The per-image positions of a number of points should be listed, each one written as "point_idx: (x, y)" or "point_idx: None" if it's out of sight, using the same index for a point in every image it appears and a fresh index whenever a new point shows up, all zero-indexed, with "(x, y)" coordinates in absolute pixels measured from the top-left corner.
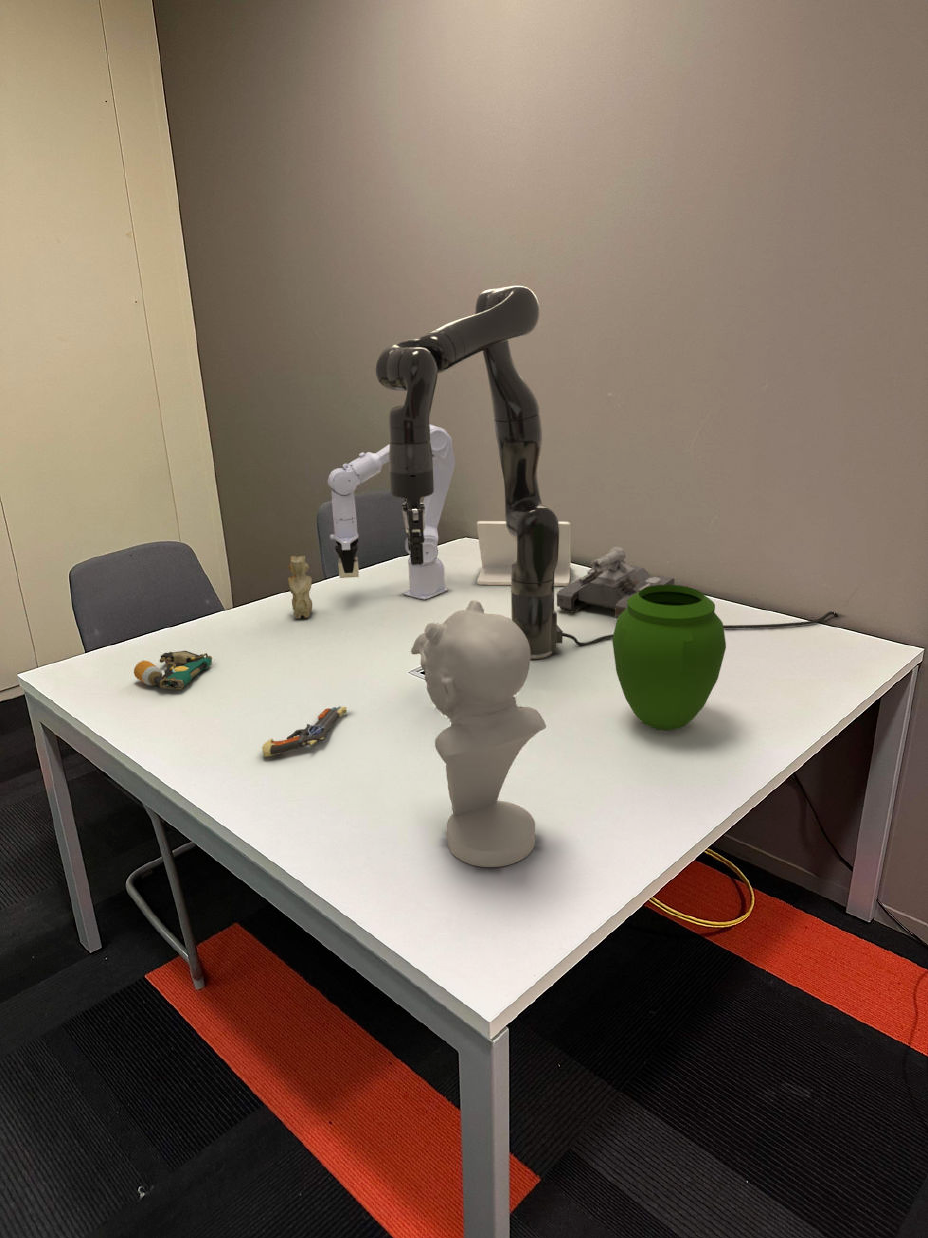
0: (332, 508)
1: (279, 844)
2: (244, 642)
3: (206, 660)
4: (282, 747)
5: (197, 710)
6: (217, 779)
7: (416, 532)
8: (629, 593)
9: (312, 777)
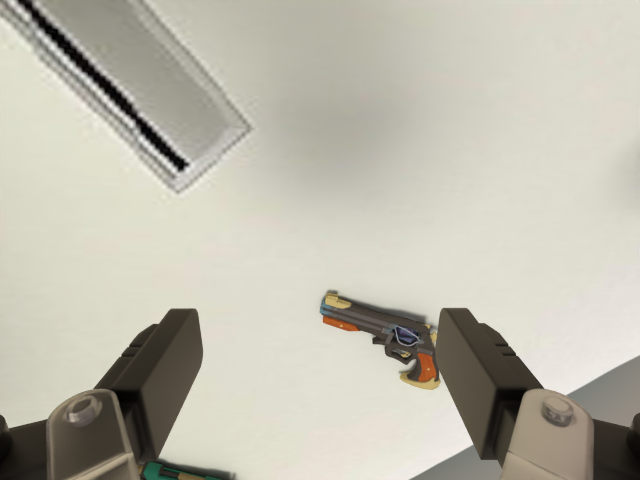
0: None
1: (618, 349)
2: None
3: (153, 473)
4: (438, 368)
5: (283, 454)
6: None
7: (150, 402)
8: None
9: (492, 325)
